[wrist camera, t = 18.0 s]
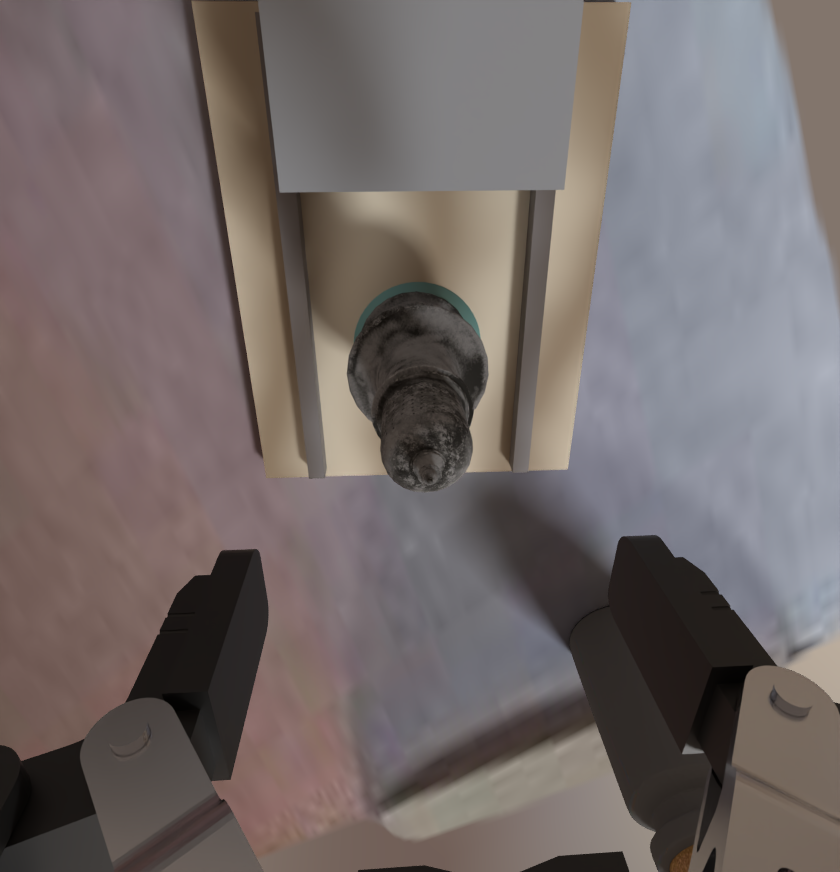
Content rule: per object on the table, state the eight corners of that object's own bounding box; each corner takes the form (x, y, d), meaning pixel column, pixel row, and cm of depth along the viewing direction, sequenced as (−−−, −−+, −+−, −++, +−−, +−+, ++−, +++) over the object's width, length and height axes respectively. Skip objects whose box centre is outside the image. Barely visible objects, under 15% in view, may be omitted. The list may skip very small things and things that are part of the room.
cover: (305, 183, 22) (279, 192, 17) (280, -78, 18) (239, -164, 13) (526, 182, 22) (564, 189, 17) (545, -75, 19) (600, -158, 14)
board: (271, 466, 30) (262, 488, 28) (201, 9, 21) (181, -7, 19) (561, 458, 30) (573, 479, 28) (619, 10, 21) (642, -5, 19)
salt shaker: (328, 324, 25) (279, 447, 14) (442, 260, 24) (481, 342, 13) (391, 424, 28) (390, 593, 17) (497, 370, 26) (567, 514, 16)
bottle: (646, 664, 38) (781, 935, 25) (563, 668, 38) (655, 943, 25) (662, 602, 36) (822, 868, 22) (573, 605, 36) (682, 876, 22)
